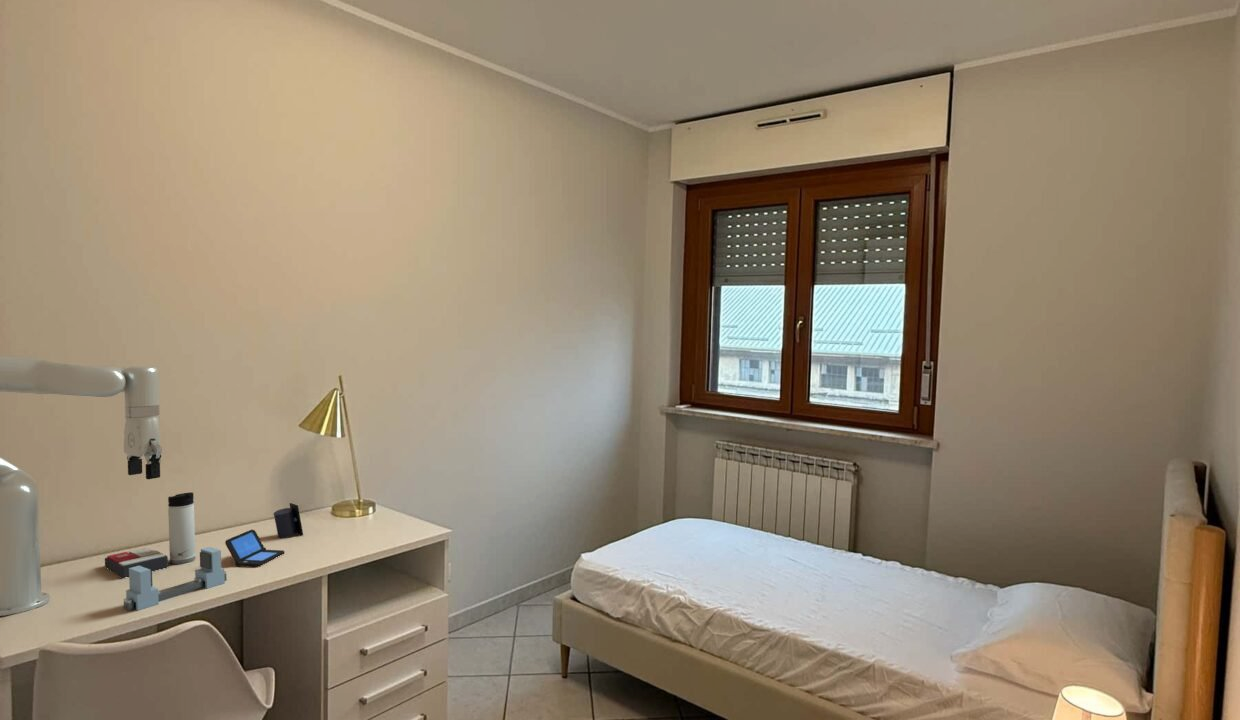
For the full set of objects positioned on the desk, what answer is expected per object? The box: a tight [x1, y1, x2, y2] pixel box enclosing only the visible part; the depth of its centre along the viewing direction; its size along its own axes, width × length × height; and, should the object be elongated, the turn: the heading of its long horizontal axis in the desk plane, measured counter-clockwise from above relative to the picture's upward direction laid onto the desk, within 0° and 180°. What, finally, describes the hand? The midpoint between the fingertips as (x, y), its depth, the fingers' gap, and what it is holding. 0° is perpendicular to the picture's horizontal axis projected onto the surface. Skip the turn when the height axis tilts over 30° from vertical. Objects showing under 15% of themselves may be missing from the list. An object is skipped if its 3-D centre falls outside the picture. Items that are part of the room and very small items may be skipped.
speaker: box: [273, 502, 304, 539], centre depth 220 cm, size 8×6×10 cm
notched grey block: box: [194, 546, 226, 589], centre depth 178 cm, size 6×4×9 cm
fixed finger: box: [125, 566, 159, 611], centre depth 164 cm, size 6×4×9 cm
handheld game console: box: [224, 529, 285, 568], centre depth 197 cm, size 12×11×7 cm
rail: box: [123, 570, 228, 612], centre depth 171 cm, size 23×2×3 cm, turn 149°
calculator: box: [104, 546, 169, 579], centre depth 191 cm, size 11×4×15 cm
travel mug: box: [167, 492, 196, 565], centre depth 196 cm, size 6×7×20 cm
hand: (144, 476), depth 180 cm, fingers open, 9 cm apart
